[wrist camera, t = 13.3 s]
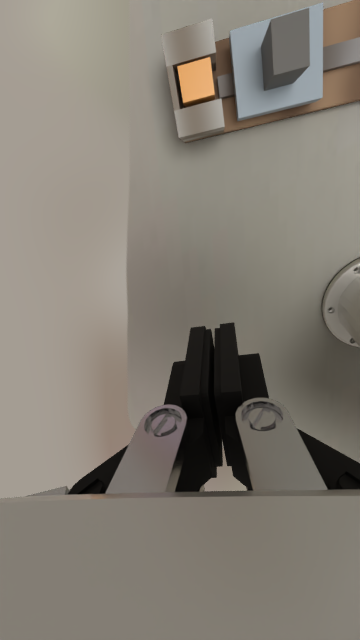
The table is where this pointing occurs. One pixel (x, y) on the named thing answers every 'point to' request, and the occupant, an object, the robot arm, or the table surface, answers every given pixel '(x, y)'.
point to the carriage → (278, 62)
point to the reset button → (196, 82)
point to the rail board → (220, 114)
